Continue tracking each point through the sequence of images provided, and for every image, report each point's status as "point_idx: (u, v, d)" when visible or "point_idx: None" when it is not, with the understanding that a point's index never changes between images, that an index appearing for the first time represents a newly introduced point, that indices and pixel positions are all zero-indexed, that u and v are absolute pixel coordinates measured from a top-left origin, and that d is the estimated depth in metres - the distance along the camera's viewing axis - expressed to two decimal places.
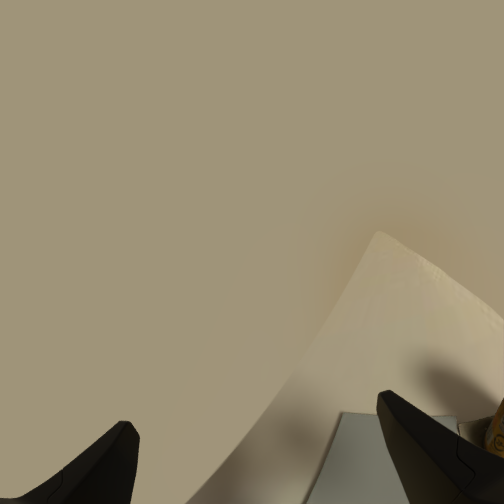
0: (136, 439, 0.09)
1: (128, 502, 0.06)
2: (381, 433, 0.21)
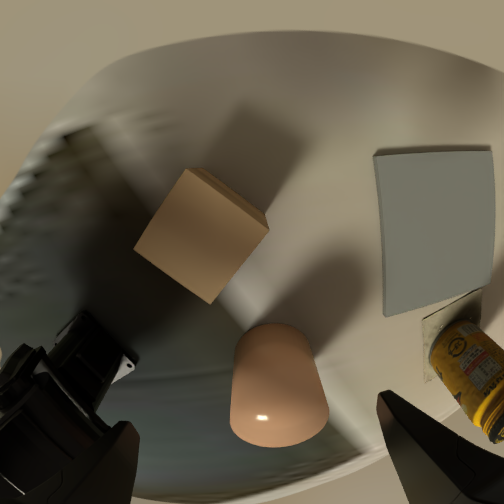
0: (136, 439, 0.09)
1: (128, 502, 0.06)
2: (479, 204, 0.18)
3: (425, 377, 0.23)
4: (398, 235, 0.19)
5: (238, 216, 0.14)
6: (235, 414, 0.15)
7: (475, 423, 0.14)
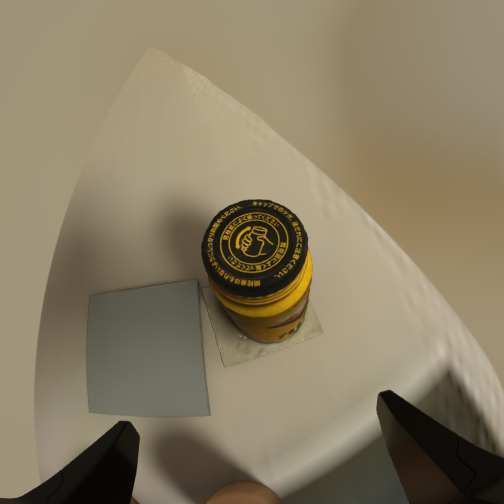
0: (136, 439, 0.09)
1: (128, 502, 0.06)
2: (122, 313, 0.25)
3: (314, 334, 0.23)
4: (137, 403, 0.21)
5: None
6: None
7: (290, 303, 0.15)
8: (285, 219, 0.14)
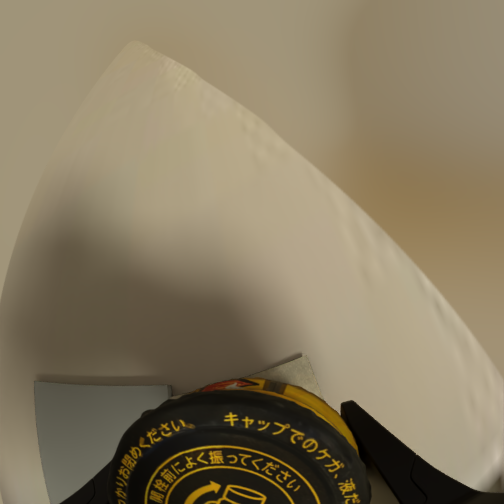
0: None
1: None
2: (73, 415, 0.14)
3: None
4: None
5: None
6: None
7: None
8: (321, 474, 0.04)
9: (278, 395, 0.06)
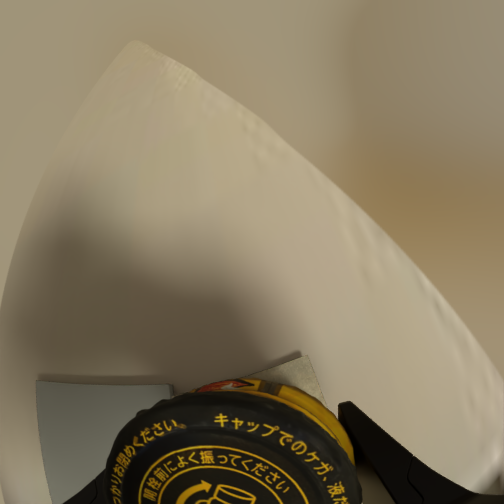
0: None
1: None
2: (74, 414, 0.15)
3: None
4: None
5: None
6: None
7: None
8: (310, 476, 0.04)
9: (271, 396, 0.06)
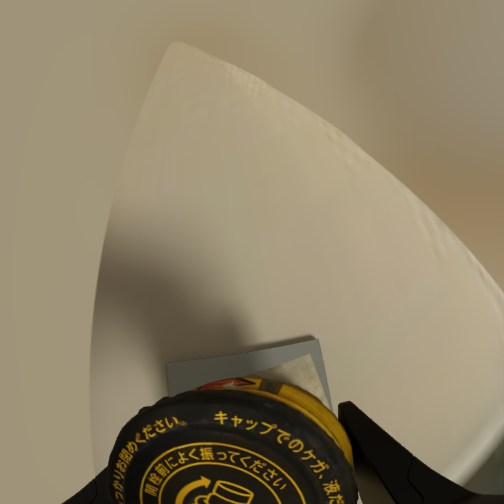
0: None
1: None
2: None
3: None
4: None
5: None
6: None
7: None
8: (306, 474, 0.04)
9: (271, 395, 0.06)
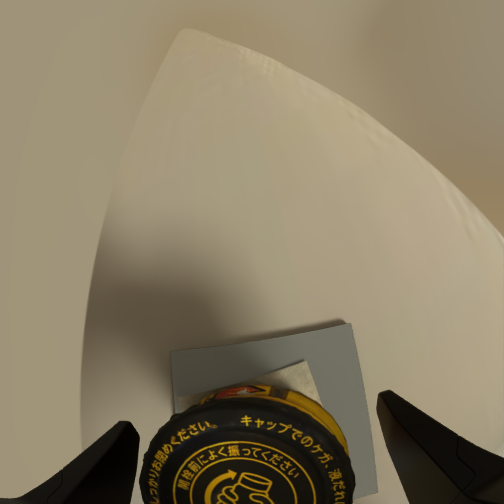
0: (136, 439, 0.09)
1: (128, 502, 0.06)
2: (237, 379, 0.17)
3: None
4: None
5: None
6: None
7: None
8: (315, 464, 0.05)
9: (282, 401, 0.07)
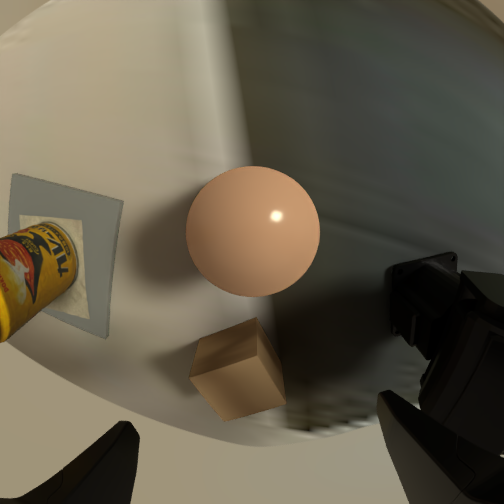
0: (136, 439, 0.09)
1: (128, 502, 0.06)
2: None
3: (80, 229, 0.19)
4: (96, 278, 0.20)
5: (205, 392, 0.18)
6: (297, 273, 0.13)
7: (0, 299, 0.11)
8: None
9: None
